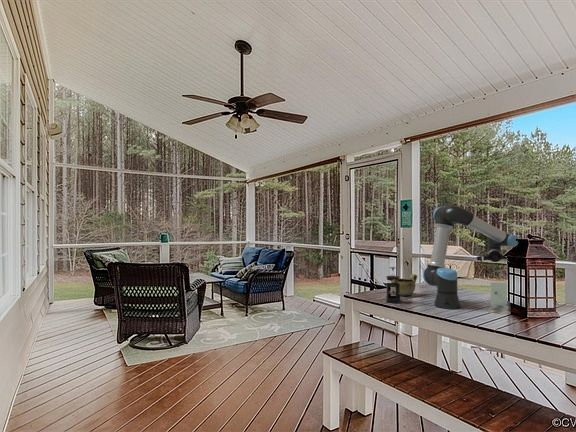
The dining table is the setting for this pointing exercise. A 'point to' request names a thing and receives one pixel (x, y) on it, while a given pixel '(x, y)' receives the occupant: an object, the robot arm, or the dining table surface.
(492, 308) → the cradle
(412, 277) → the ceramic bowl
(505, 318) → the dining table surface
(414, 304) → the dining table surface
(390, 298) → the french press
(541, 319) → the dining table surface
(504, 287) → the flat rectangular panel
